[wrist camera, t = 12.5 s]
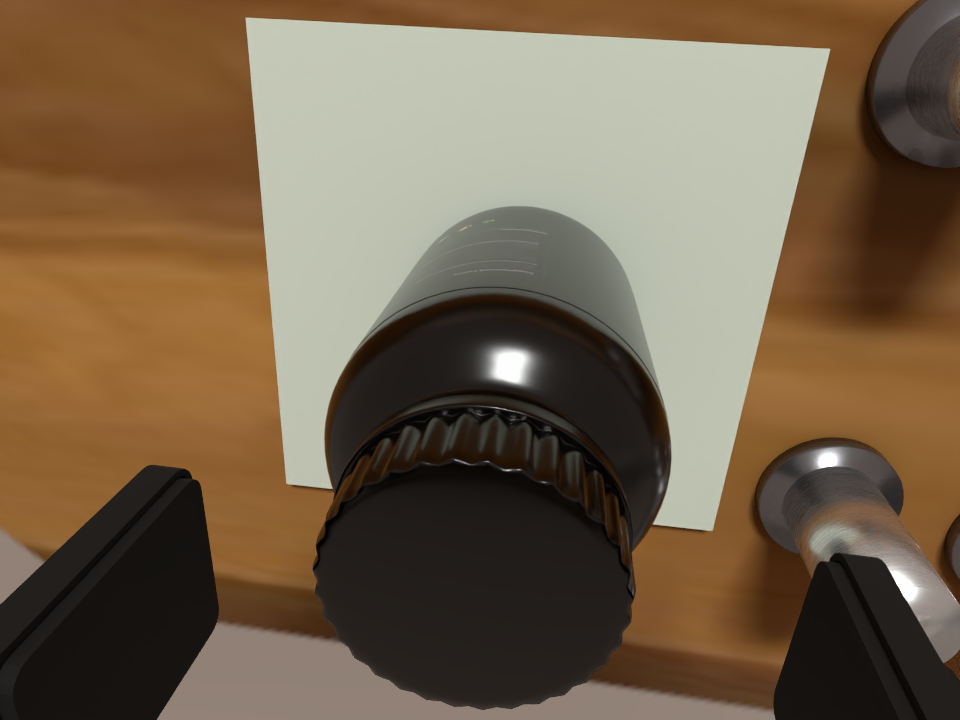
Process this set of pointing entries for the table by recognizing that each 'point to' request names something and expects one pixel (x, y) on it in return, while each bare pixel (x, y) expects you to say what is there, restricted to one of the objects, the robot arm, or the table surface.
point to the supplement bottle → (494, 466)
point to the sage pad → (529, 195)
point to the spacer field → (849, 463)
